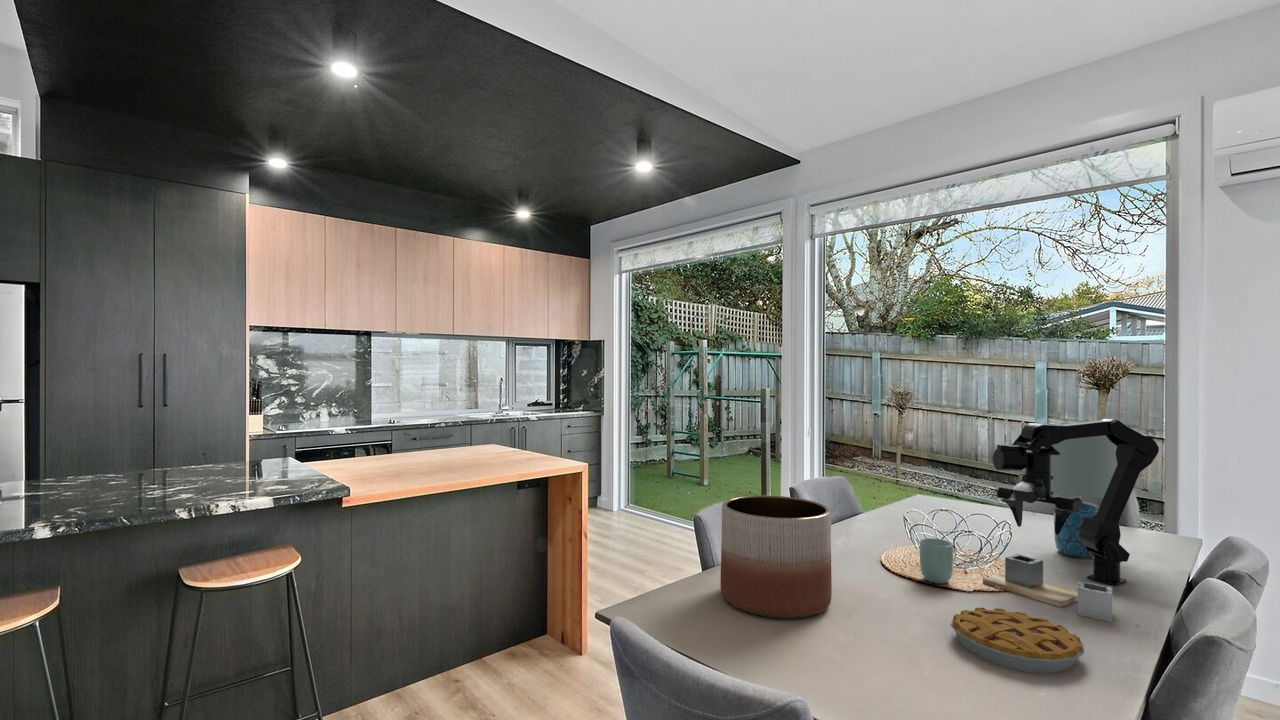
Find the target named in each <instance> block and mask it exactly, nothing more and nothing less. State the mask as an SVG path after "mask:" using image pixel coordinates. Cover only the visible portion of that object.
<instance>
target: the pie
mask: <svg viewBox="0 0 1280 720" xmlns="http://www.w3.org/2000/svg"><path fill="white" fill-rule="evenodd" d="M950 627H951V628H952V629H953V630H954V632H955V634H956V637H957V639H958V641H959V642H960V643H961V645H962V646H963V647H964V648H966V650H969V651H970V652H971V653H973V654H975V655H976V656H979V657H980V658H981V659H984V660H986V661H989V662H992V663H995V664H997V665H1000V666H1002V667H1005V668H1009V669H1014V670H1017V671H1021V672H1024V673H1037V674H1051V673H1059V672H1065V671H1067V670H1068V669H1070V668H1071V667H1073V666H1074V665H1075V664H1076V662H1077V660H1078V659H1079V658H1080V657H1081V656H1083V655H1084V654H1085V646H1084V643H1083V642H1082V641H1081V638H1080V637H1079V636H1078V635H1077V634H1075V633H1071V632H1069V630H1068V629H1067V628H1065V627H1064V626H1062V625H1061V624H1056V625H1055V624H1054V623H1053V624H1052V623H1050V622H1049V619H1045V618H1042V617H1034V616H1033V617H1032V616H1030V615H1028V614H1027V613H1025V612H1019V611H1015V612H1014V611H1007V610H1006V609H1004V608H999V607H998V608H997V607H996V608H994V609H986V608H985V607H976V608H975V609H974V610H967V609H964V610H961V611H960V613H959V614H958V613H955V614H954V615H953V619H952V621H951V623H950Z"/></svg>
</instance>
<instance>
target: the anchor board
mask: <svg viewBox="0 0 1280 720" xmlns="http://www.w3.org/2000/svg"><path fill="white" fill-rule="evenodd" d="M984 583H986V584H985V585H987V584H989V585H988V586H990V585H993V586H992V587H994V586H997V587H1000V588H1003V589H1005V591H1007V592H1011V593H1014V594H1017V595H1020V596H1024V597H1028V598H1031V599H1033V600H1036V601H1039V602H1043V603H1047V604H1049V605H1053V606H1056V607H1059V608H1063V607H1065V606H1067V605H1070V604H1072V603H1075V602H1078V589H1075V588H1071V587H1067V586H1063V585H1060V584H1057V583H1052V582H1049V581H1046V580H1043V585H1040V586H1037V587H1034V588H1031V589H1030V588H1026V587H1023V586H1020V585H1016V584H1013V583H1009V582H1006V581H1005V571H1004V572H1003V571H1002V572H1000V573H997V574H994V575H991V576H987V577H983V578H982V584H984ZM997 587H996V588H997ZM1000 588H999V589H1000ZM1003 589H1002V590H1003Z"/></svg>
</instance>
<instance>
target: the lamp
mask: <svg viewBox="0 0 1280 720" xmlns="http://www.w3.org/2000/svg"><path fill="white" fill-rule="evenodd" d="M1051 446H1053V447H1054V448H1055V449H1056V450H1057V451H1058V452H1059V453H1060V455H1051V475H1052V476H1053V480H1051V491H1053V494H1057V495H1060V496H1063V495H1067V496H1073V497H1079V498H1080V499H1081V500H1082V498H1089V499H1103V498H1104V495H1105V493H1106V491H1107V488H1108V486H1109V484H1110V481H1111V479H1112V477H1113V474H1114V472H1115V469H1116V467H1117V459H1116V449H1117V446H1116V445H1114V444H1113V443H1112V442H1111V441H1110V440H1109V439H1108V438H1107V436H1106V435H1104V436H1094V437H1085V438H1076V439H1068V440H1064V441H1062V442H1060V443H1058V444H1054V445H1051ZM1041 448H1044V447H1041ZM1082 502H1083V509H1079V510H1077V511H1075V512H1072V513H1071V514H1070V515H1069V517H1068V518H1067V520H1066V522H1065V523H1064V525H1063V527H1062V529H1061V531H1060V533H1059V534H1058V535H1056V534H1055V518H1056V514H1055V512H1054V511H1053V530H1054V542H1055V544H1054V545H1055V546H1056V547H1055V548H1056V549H1057V552H1059V553H1061V554H1062V555H1064V556H1068V557H1073V558H1079V559H1091V558H1092V559H1093V553H1090V552H1087V550H1086V548H1085V545H1084V544H1083V543H1082V542H1081V540H1080V538H1079V533H1080V531H1078V529H1079V528H1080V527H1081V525H1082V522H1083V519H1084V517H1087V518H1090V519H1091V518H1092V517H1093V516H1095V515H1096V514H1097V512H1098V509H1099V507H1100V506H1099V505H1097V504H1094V503H1091V502H1086V501H1083V500H1082ZM1054 509H1057V507H1056V506H1055V504H1053V510H1054Z"/></svg>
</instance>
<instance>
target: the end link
mask: <svg viewBox="0 0 1280 720" xmlns="http://www.w3.org/2000/svg"><path fill="white" fill-rule="evenodd" d="M1004 559H1005V560H1004V562H1005V564H1004V567H1005V568H1004V572H1005V581H1006V582H1009V583H1013V584H1016V585H1020V586H1023V587H1026V588H1030V589H1031V588H1034V587H1037V586H1040V585H1043V581H1044V560H1042V559H1039V558H1035V557H1031V556H1028V555H1024V554H1019V553H1017V554H1013V555H1009V556H1005V557H1004Z"/></svg>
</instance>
